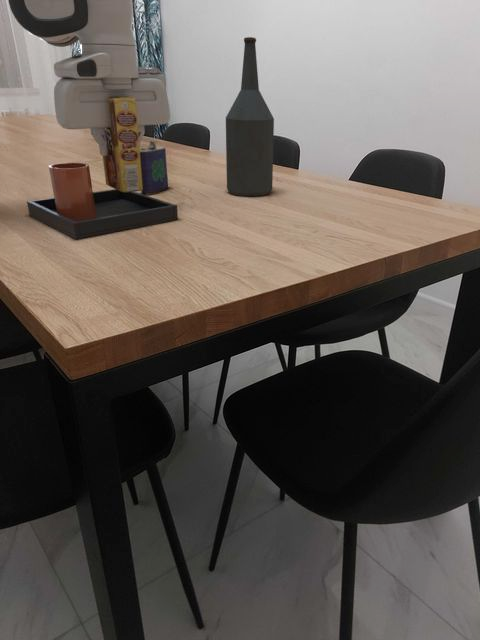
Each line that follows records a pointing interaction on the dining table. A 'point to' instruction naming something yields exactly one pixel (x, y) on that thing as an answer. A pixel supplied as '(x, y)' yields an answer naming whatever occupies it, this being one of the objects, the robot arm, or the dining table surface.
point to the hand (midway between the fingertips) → (120, 154)
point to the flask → (153, 169)
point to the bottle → (249, 134)
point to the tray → (107, 213)
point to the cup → (73, 190)
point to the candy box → (123, 146)
